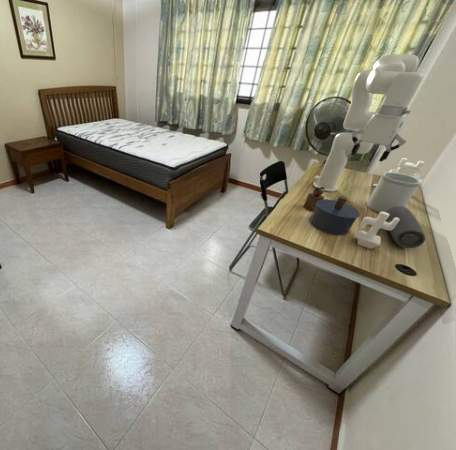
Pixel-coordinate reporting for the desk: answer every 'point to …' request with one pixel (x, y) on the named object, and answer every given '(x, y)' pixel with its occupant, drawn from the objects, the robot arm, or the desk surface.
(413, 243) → the bluetooth speaker
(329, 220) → the pot
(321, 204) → the pot lid
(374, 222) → the figurine
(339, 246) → the desk surface
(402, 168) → the white branched piece
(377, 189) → the utensil holder
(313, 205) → the toy bear
